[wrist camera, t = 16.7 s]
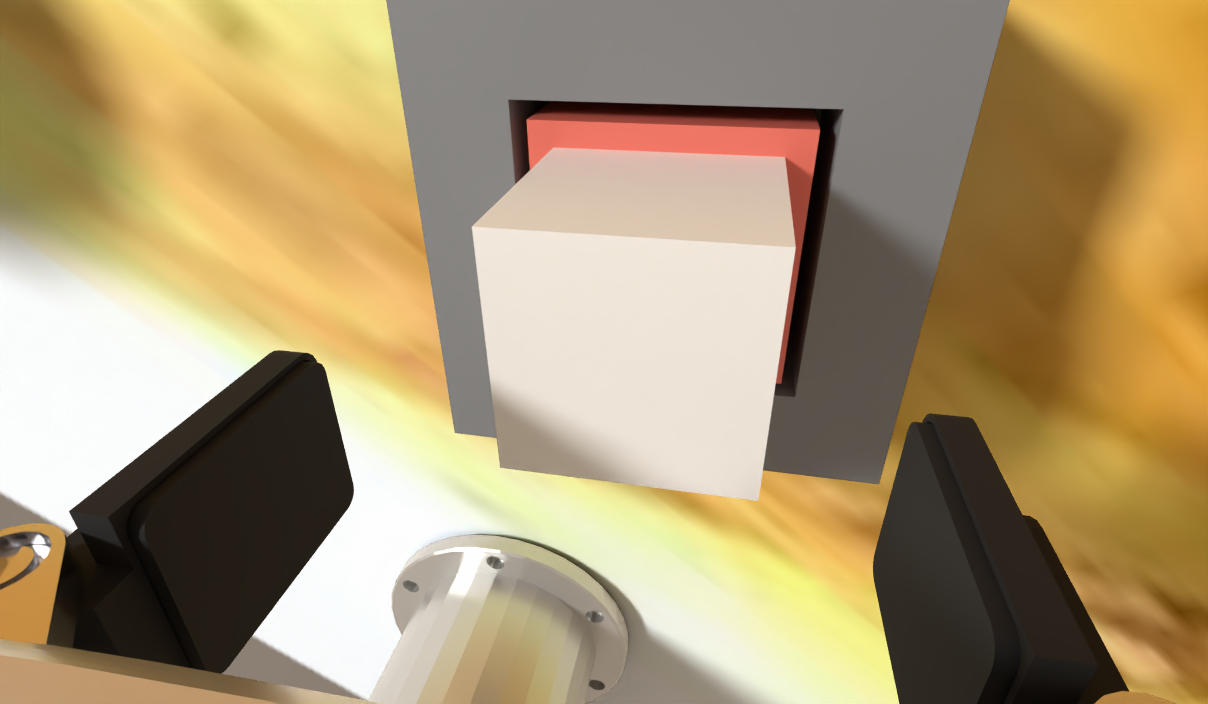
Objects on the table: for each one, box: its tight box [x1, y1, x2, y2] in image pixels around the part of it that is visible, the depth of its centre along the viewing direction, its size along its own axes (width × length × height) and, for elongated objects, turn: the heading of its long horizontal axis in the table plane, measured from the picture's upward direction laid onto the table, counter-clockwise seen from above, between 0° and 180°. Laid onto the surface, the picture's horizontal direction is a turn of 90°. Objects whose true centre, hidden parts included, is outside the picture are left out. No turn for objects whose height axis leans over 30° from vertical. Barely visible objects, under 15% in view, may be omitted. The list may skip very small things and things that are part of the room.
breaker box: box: [386, 0, 1010, 484], centre depth 19 cm, size 12×12×7 cm
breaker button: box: [527, 101, 820, 384], centre depth 17 cm, size 6×6×4 cm
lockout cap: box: [472, 148, 796, 501], centre depth 14 cm, size 5×5×5 cm
